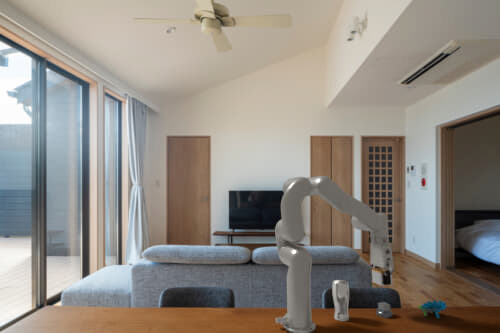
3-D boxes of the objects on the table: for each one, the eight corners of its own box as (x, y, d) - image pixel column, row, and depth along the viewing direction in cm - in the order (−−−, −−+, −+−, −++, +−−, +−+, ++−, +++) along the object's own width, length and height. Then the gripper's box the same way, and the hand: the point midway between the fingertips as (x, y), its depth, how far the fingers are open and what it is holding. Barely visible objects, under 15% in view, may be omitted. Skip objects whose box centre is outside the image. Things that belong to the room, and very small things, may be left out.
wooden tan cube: (392, 284, 125) (391, 270, 126) (381, 285, 124) (380, 271, 125) (383, 281, 131) (382, 267, 132) (372, 282, 130) (371, 268, 130)
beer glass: (350, 322, 119) (349, 284, 120) (333, 320, 121) (331, 283, 122) (349, 315, 125) (348, 280, 127) (333, 314, 127) (331, 279, 129)
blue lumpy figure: (444, 309, 128) (446, 297, 123) (450, 323, 124) (453, 311, 118) (417, 310, 131) (418, 299, 126) (422, 323, 127) (423, 312, 121)
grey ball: (383, 319, 122) (382, 306, 123) (373, 313, 128) (372, 301, 129) (396, 317, 124) (395, 305, 124) (385, 312, 130) (385, 300, 130)
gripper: (400, 243, 122) (403, 287, 120) (374, 238, 139) (377, 276, 137) (385, 244, 120) (388, 289, 118) (361, 238, 137) (363, 278, 135)
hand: (382, 282), depth 128 cm, fingers closed on wooden tan cube, 5 cm apart
